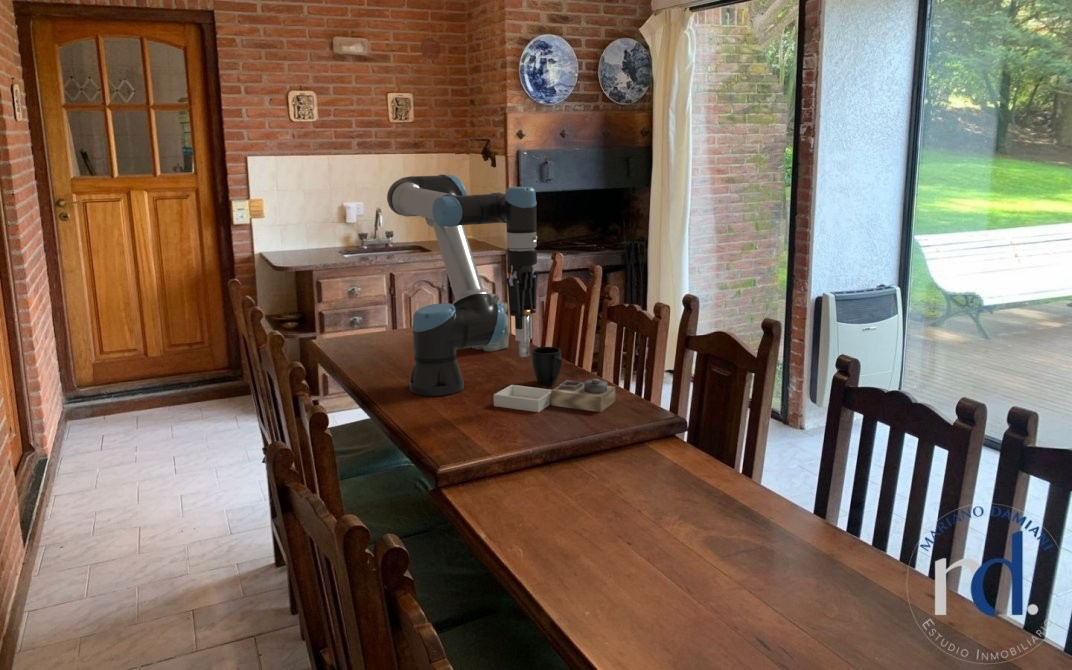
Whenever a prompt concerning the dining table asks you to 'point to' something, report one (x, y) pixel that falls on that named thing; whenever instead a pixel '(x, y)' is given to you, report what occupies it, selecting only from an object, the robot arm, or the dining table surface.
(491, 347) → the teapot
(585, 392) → the beige compartment box
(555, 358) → the mug
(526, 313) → the pin
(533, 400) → the tray
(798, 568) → the dining table surface
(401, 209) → the robot arm
